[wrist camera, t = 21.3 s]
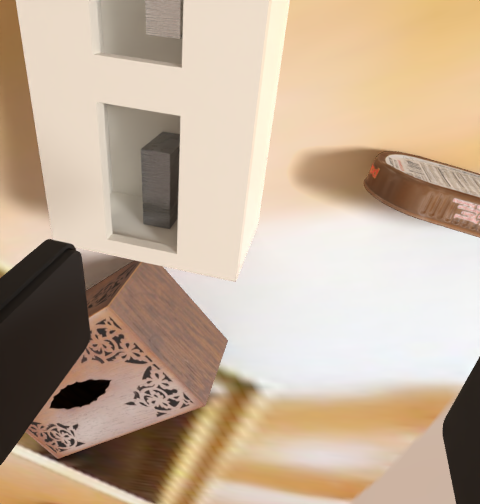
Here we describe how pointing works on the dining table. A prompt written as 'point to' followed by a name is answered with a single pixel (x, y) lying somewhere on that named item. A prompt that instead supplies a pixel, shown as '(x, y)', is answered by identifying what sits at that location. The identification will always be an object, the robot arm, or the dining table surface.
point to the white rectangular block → (154, 123)
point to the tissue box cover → (132, 362)
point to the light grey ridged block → (164, 18)
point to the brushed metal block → (160, 180)
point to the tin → (427, 190)
